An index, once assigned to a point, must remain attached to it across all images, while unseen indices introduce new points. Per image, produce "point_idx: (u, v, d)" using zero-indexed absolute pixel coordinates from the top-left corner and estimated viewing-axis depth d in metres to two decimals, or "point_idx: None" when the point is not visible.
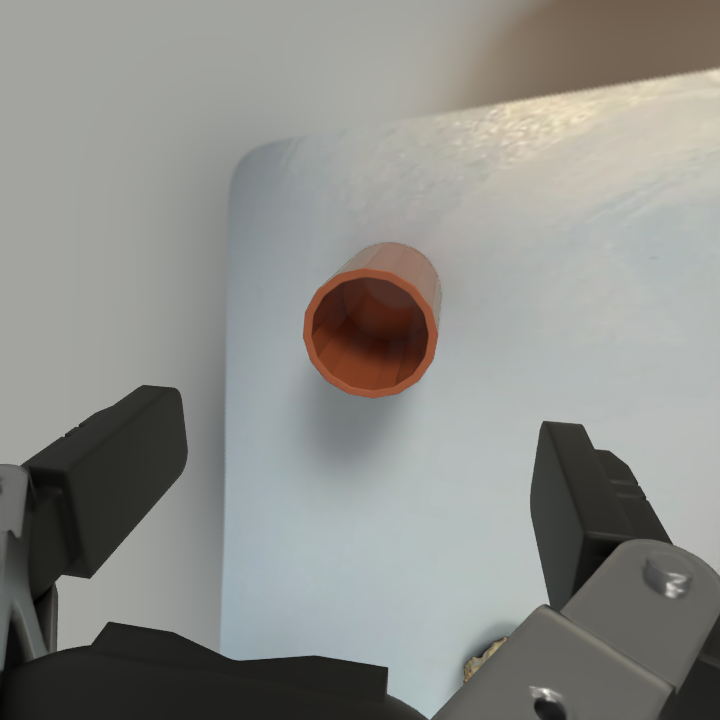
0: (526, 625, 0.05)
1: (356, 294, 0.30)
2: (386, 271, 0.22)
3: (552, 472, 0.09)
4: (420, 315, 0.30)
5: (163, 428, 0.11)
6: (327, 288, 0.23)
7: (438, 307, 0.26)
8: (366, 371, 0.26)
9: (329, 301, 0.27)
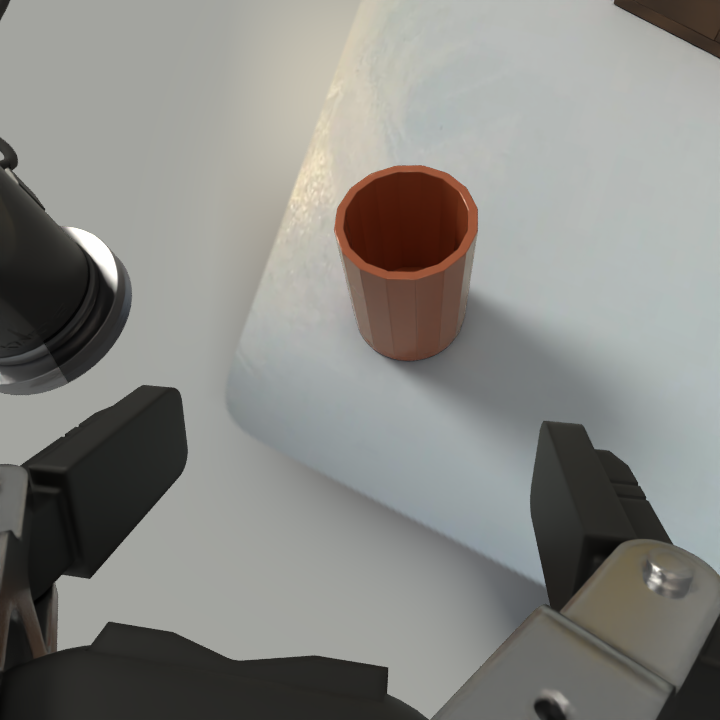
0: (526, 625, 0.05)
1: None
2: (348, 193, 0.23)
3: (552, 471, 0.09)
4: None
5: (163, 428, 0.11)
6: (343, 242, 0.22)
7: None
8: None
9: None
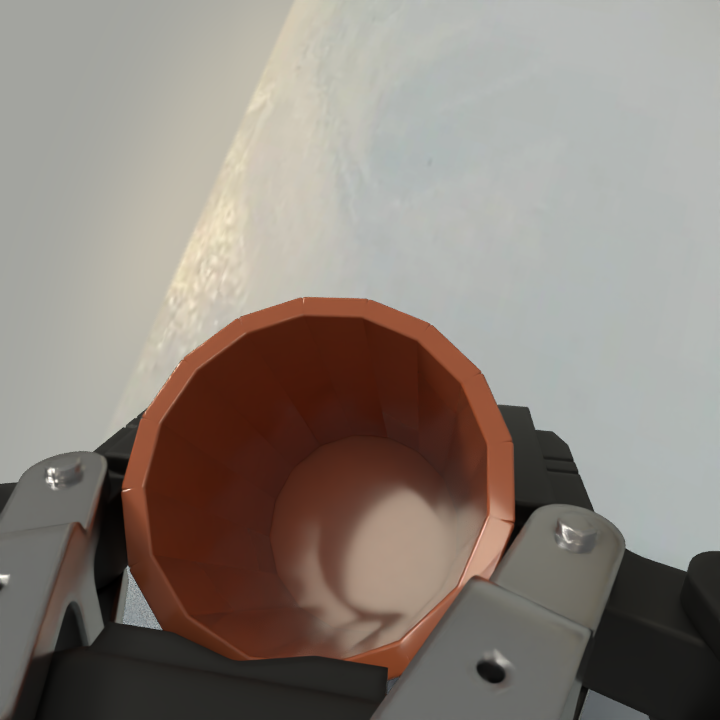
0: (461, 596, 0.05)
1: (336, 593, 0.14)
2: (176, 370, 0.09)
3: None
4: (418, 474, 0.15)
5: None
6: (138, 534, 0.08)
7: None
8: (459, 565, 0.09)
9: (265, 615, 0.10)
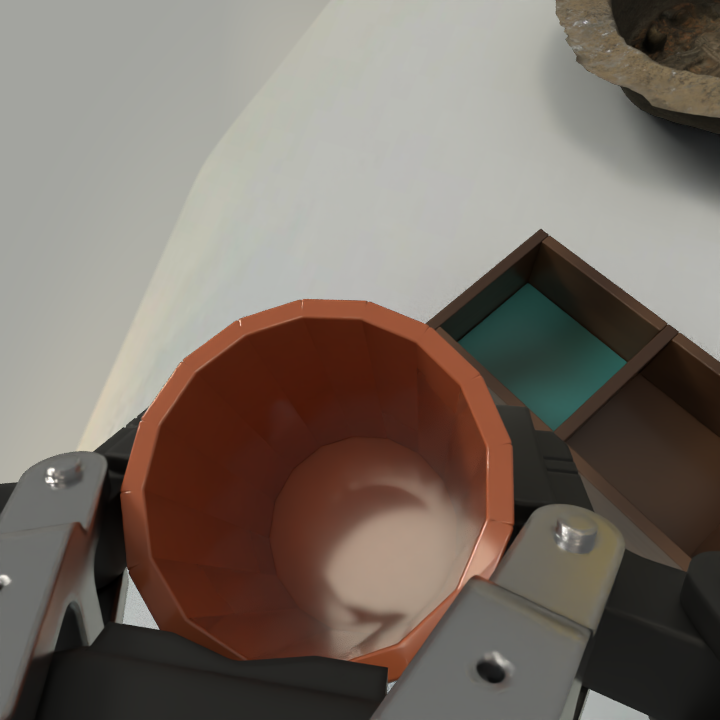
0: (461, 596, 0.05)
1: (335, 594, 0.14)
2: (175, 373, 0.09)
3: None
4: (418, 476, 0.15)
5: None
6: (137, 537, 0.08)
7: None
8: (458, 567, 0.09)
9: (265, 617, 0.10)
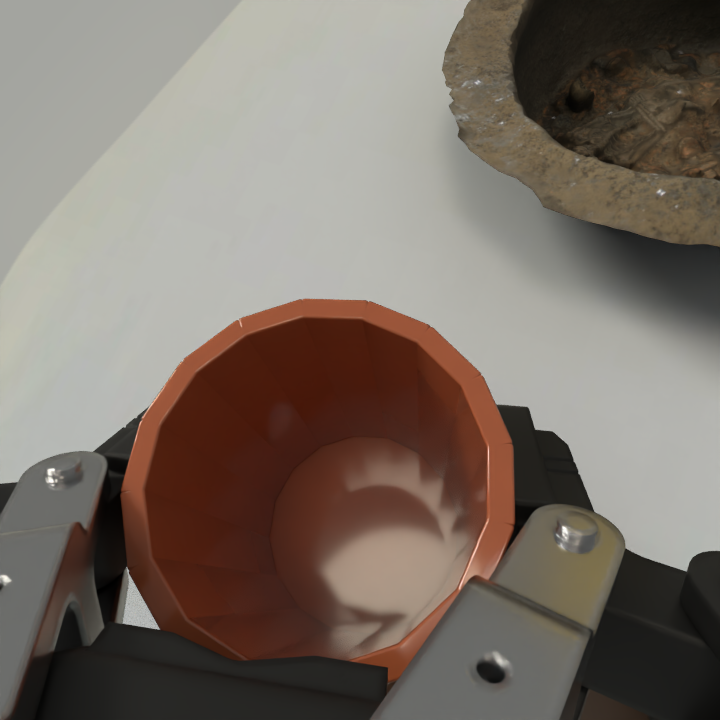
0: (461, 596, 0.05)
1: (336, 594, 0.14)
2: (176, 372, 0.09)
3: None
4: (418, 476, 0.15)
5: None
6: (137, 537, 0.08)
7: None
8: (459, 567, 0.09)
9: (265, 617, 0.10)
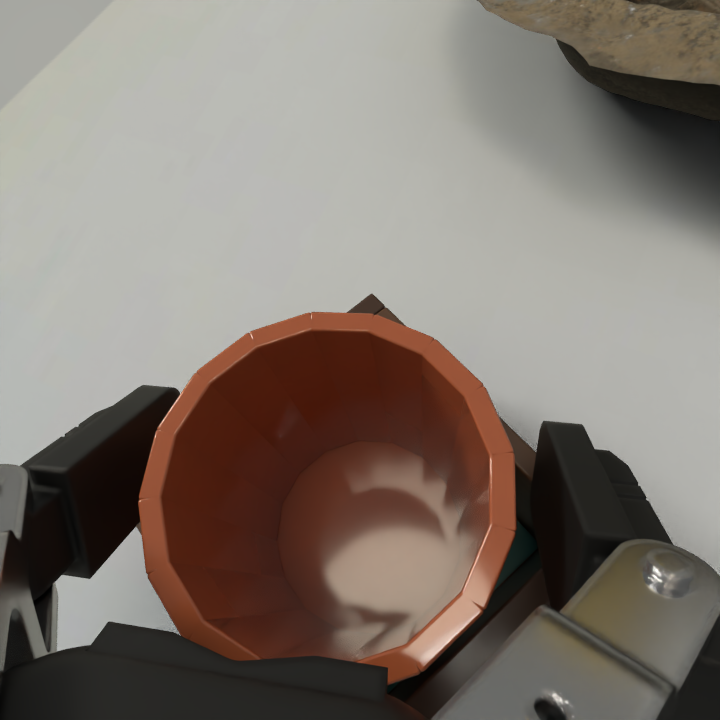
0: (526, 625, 0.05)
1: (342, 596, 0.14)
2: (189, 383, 0.09)
3: (552, 472, 0.09)
4: (422, 480, 0.15)
5: None
6: (155, 542, 0.08)
7: None
8: (462, 570, 0.09)
9: (275, 619, 0.11)
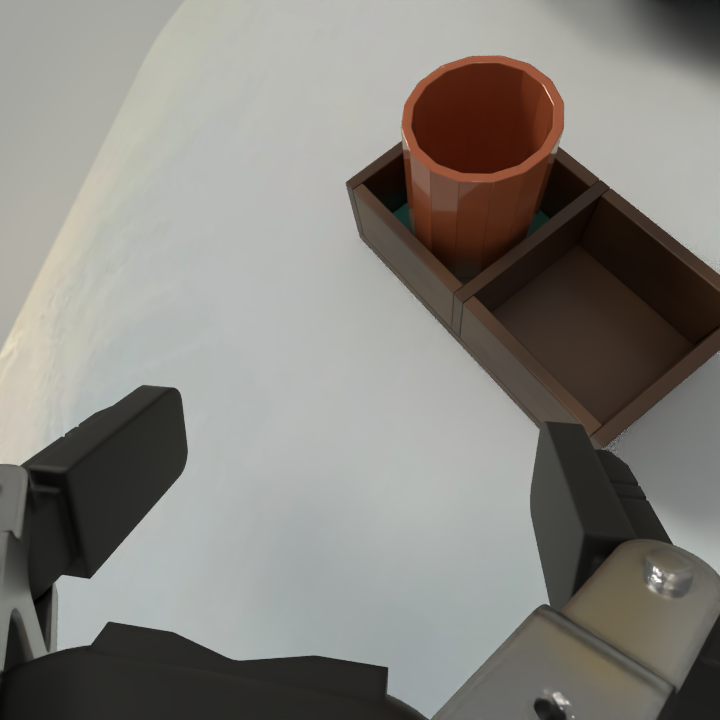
0: (526, 625, 0.05)
1: None
2: (416, 87, 0.21)
3: (552, 471, 0.09)
4: None
5: (163, 428, 0.11)
6: (412, 141, 0.20)
7: None
8: None
9: None
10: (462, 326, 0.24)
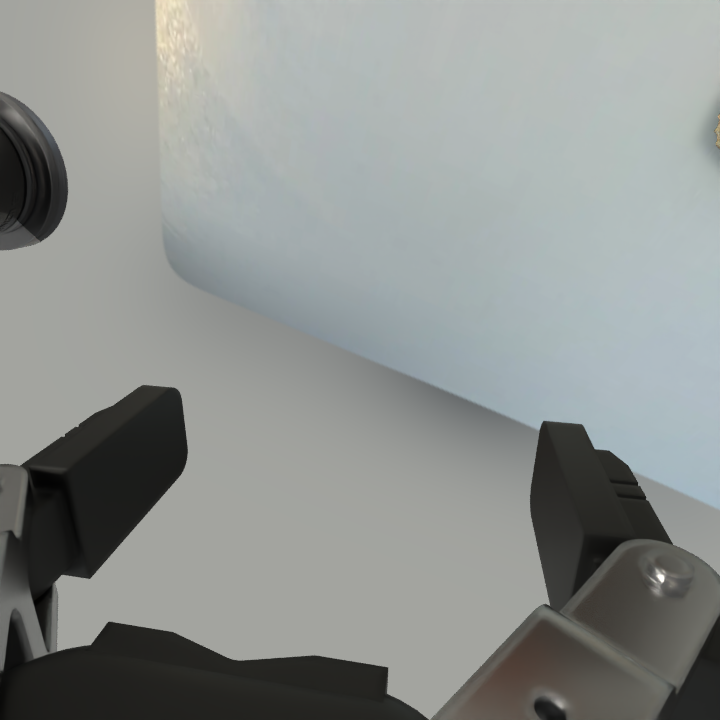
0: (526, 625, 0.05)
1: None
2: None
3: (551, 472, 0.09)
4: None
5: (163, 428, 0.11)
6: None
7: None
8: None
9: None
10: None
